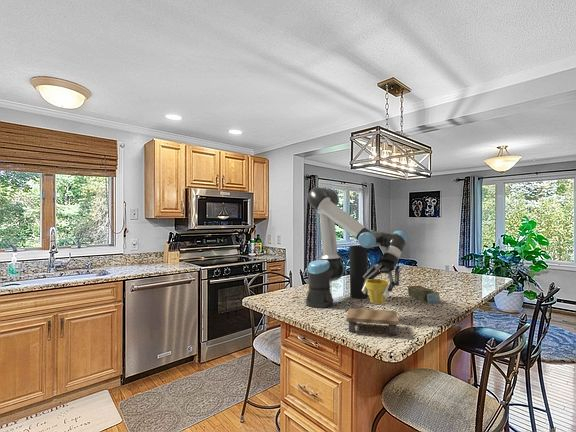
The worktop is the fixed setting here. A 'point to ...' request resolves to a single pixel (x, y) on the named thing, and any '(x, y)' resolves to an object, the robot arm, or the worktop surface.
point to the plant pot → (376, 290)
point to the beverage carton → (424, 294)
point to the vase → (357, 271)
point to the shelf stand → (372, 318)
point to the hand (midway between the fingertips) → (373, 294)
